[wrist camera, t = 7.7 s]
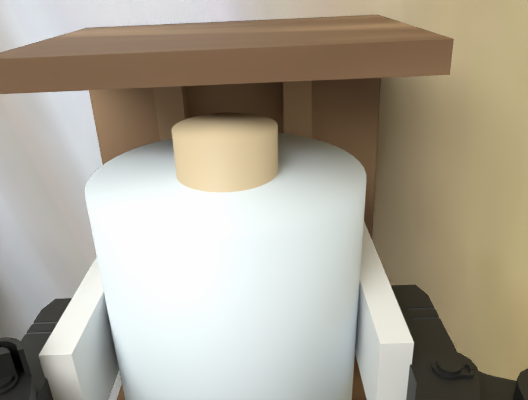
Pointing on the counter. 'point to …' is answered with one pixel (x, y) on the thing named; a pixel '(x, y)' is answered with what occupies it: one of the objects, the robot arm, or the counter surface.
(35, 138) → the counter surface
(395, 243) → the counter surface
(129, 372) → the roll
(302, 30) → the tray
